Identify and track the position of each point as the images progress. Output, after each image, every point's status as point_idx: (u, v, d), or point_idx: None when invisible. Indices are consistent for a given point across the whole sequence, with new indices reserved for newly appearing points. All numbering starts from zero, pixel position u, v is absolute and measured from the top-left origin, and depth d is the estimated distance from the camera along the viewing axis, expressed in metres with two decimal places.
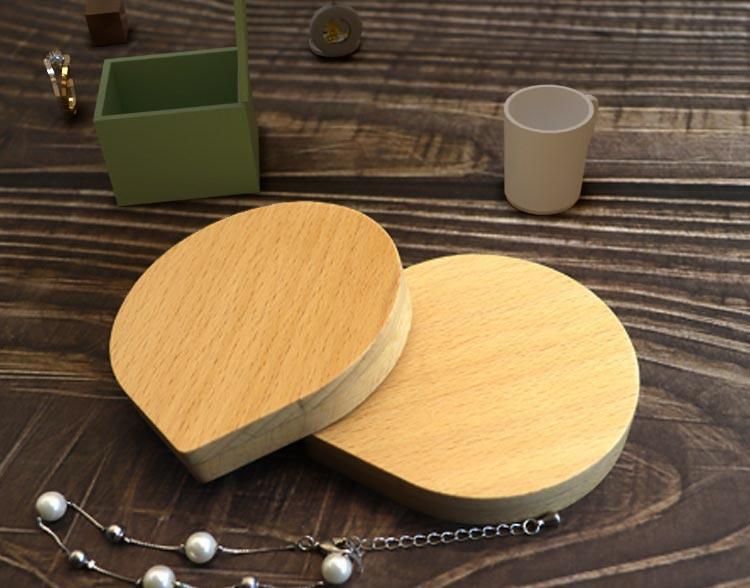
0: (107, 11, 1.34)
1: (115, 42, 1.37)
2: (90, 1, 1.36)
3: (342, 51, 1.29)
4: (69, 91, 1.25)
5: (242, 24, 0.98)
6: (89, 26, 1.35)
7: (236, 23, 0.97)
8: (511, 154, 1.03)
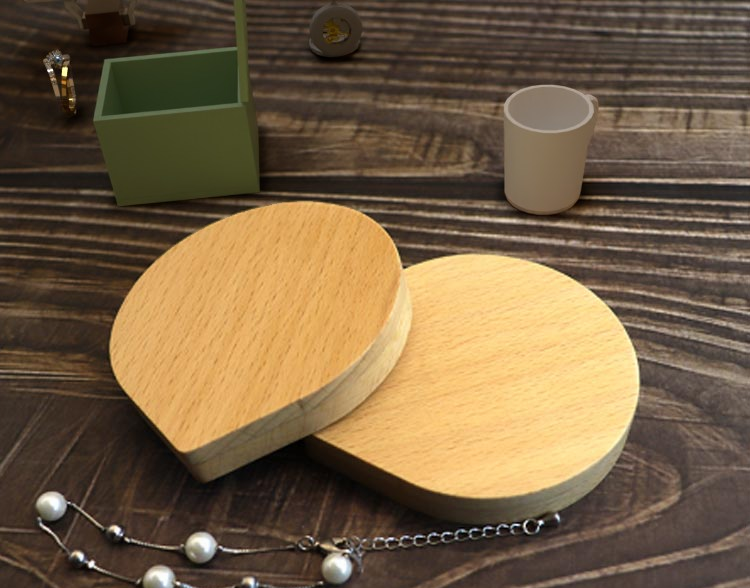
0: (107, 11, 1.34)
1: (115, 42, 1.37)
2: (90, 1, 1.36)
3: (342, 51, 1.29)
4: (69, 91, 1.25)
5: (242, 24, 0.98)
6: (89, 26, 1.35)
7: (236, 23, 0.97)
8: (511, 154, 1.03)
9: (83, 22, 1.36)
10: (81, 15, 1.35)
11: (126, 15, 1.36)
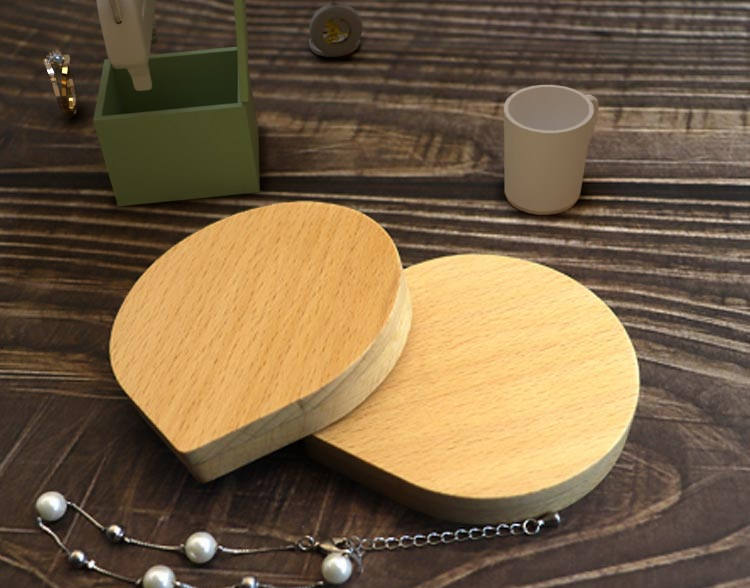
0: None
1: None
2: None
3: (342, 51, 1.29)
4: (69, 91, 1.25)
5: (242, 24, 0.98)
6: None
7: (236, 23, 0.97)
8: (511, 154, 1.03)
9: (150, 75, 1.02)
10: None
11: (155, 27, 1.08)
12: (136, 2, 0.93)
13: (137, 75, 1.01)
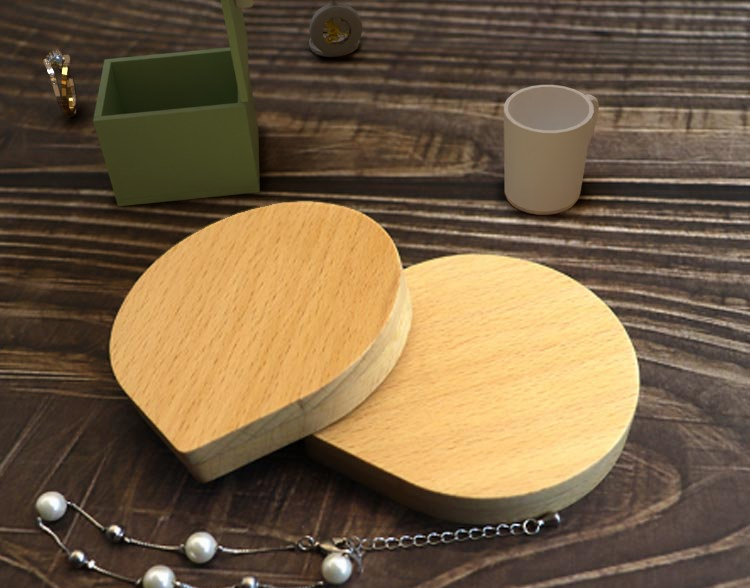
0: None
1: None
2: None
3: (342, 51, 1.29)
4: (69, 91, 1.25)
5: (232, 24, 0.97)
6: None
7: (226, 24, 0.97)
8: (511, 154, 1.03)
9: None
10: None
11: None
12: None
13: None
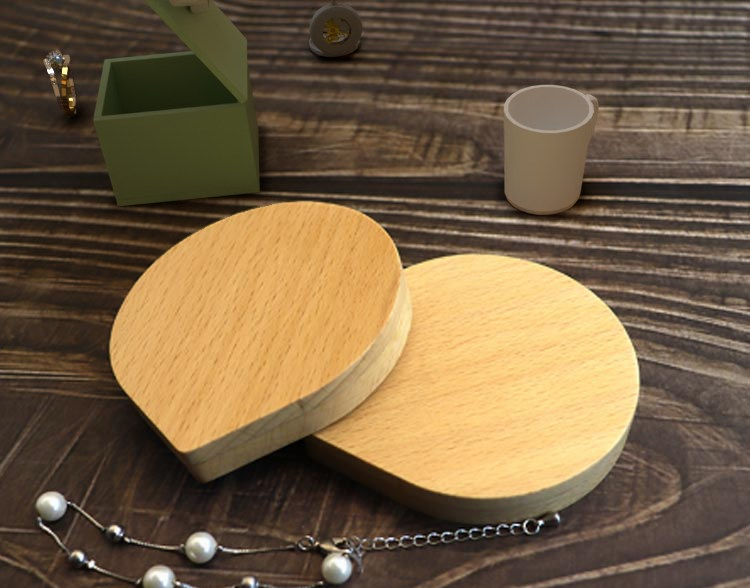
0: None
1: None
2: None
3: (342, 51, 1.29)
4: (69, 91, 1.25)
5: (190, 40, 0.98)
6: None
7: (185, 42, 0.98)
8: (511, 154, 1.03)
9: None
10: None
11: None
12: None
13: None
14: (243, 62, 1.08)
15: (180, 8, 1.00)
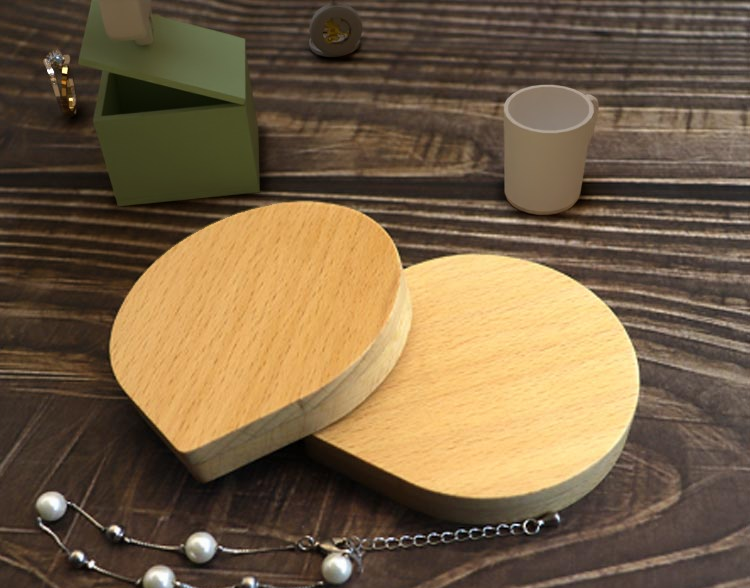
0: None
1: None
2: None
3: (342, 51, 1.29)
4: (69, 91, 1.25)
5: (162, 79, 1.01)
6: None
7: (160, 83, 1.01)
8: (511, 154, 1.03)
9: (151, 30, 1.03)
10: None
11: (151, 20, 1.04)
12: None
13: None
14: (239, 64, 1.08)
15: (147, 55, 1.03)
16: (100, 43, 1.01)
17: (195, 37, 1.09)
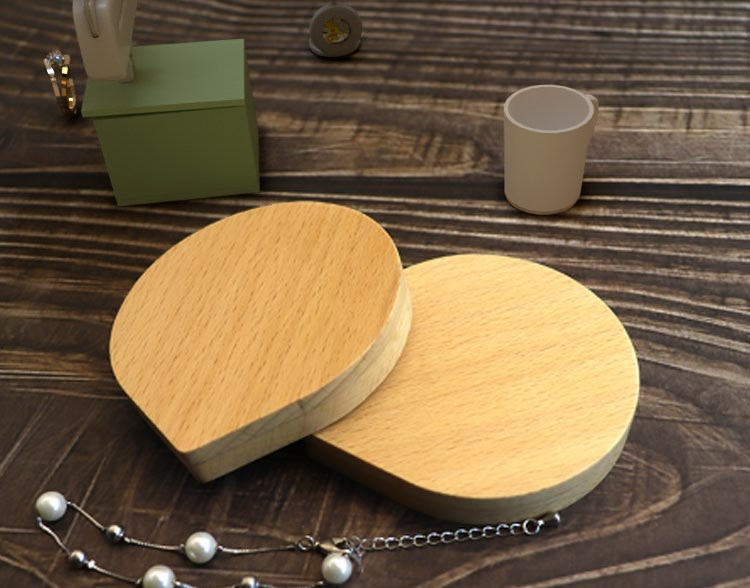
0: None
1: None
2: None
3: (342, 51, 1.29)
4: (69, 91, 1.25)
5: (161, 105, 1.03)
6: None
7: (161, 110, 1.03)
8: (511, 154, 1.03)
9: (132, 68, 1.06)
10: None
11: (132, 58, 1.06)
12: (112, 16, 0.94)
13: None
14: (238, 65, 1.08)
15: (146, 87, 1.05)
16: (101, 90, 1.05)
17: (193, 54, 1.10)
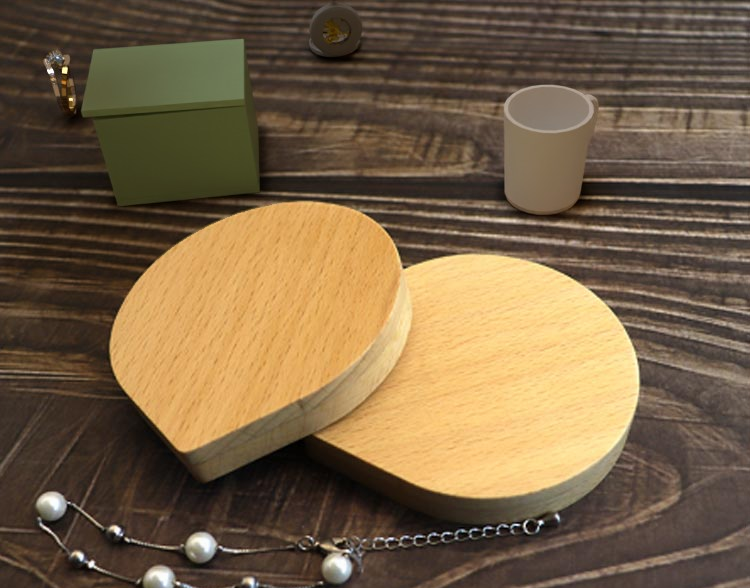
0: None
1: None
2: None
3: (342, 51, 1.29)
4: (69, 91, 1.25)
5: (161, 105, 1.03)
6: None
7: (161, 110, 1.03)
8: (511, 154, 1.03)
9: None
10: None
11: None
12: None
13: None
14: (238, 65, 1.08)
15: (146, 87, 1.05)
16: (101, 90, 1.05)
17: (193, 54, 1.10)
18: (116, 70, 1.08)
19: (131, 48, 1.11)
